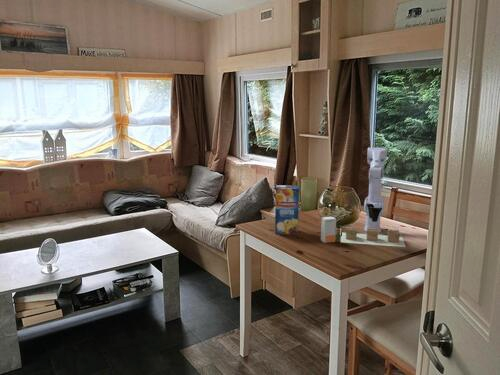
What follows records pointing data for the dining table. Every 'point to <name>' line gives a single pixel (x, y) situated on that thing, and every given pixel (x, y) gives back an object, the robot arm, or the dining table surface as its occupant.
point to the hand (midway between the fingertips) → (373, 220)
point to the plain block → (372, 234)
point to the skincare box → (328, 229)
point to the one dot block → (393, 235)
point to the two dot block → (351, 233)
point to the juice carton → (286, 209)
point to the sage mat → (381, 241)
